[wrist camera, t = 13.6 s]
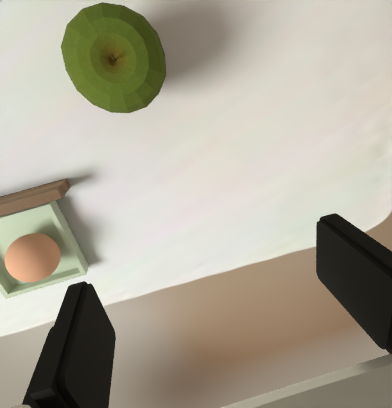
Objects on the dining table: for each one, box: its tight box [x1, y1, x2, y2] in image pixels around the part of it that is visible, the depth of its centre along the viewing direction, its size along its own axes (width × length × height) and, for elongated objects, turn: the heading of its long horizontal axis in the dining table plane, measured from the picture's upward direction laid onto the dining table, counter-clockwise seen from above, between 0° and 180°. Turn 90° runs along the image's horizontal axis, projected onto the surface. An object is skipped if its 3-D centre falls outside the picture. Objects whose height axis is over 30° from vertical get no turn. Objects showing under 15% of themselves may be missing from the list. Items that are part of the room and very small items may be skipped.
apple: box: [61, 2, 166, 113], centre depth 26 cm, size 9×8×12 cm
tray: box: [0, 200, 89, 299], centre depth 36 cm, size 11×11×2 cm
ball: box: [5, 233, 61, 282], centre depth 34 cm, size 6×6×6 cm
